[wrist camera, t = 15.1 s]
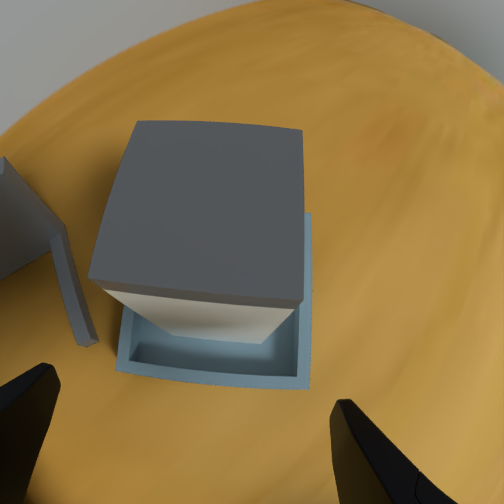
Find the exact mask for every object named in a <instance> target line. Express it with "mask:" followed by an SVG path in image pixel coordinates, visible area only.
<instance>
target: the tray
mask: <svg viewBox="0 0 504 504" xmlns="http://www.w3.org/2000/svg"><path fill="white" fill-rule="evenodd" d="M304 226H305V244H304V300H303V301H302V302H301V304H300V305H299V306H298V307H297V308H296V309H295V310H294V311H293V312H292V313H291V314H290V315H289V316H288V317H287V318H286V319H285V320H284V321H283V322H282V323H281V324H280V325H279V326H278V327H277V328H276V329H275V330H274V331H273V332H272V333H271V334H270V335H269V336H268V337H267V338H266V339H265V340H264V341H263V342H262V343H261V344H254V343H241V342H230V341H219V340H209V339H200V338H191V337H183V336H175V335H171V334H169V333H168V332H166V331H164V330H163V329H161V328H159V327H158V326H156V325H155V324H153V323H152V322H150V321H149V320H147V319H145V318H144V317H142V316H141V315H139V314H138V313H136V312H135V311H133V310H132V309H130V308H129V307H127V306H126V305H124V308H123V315H122V321H121V329H120V336H119V344H118V353H117V363H116V371H120V372H125V373H131V374H136V375H142V376H148V377H154V378H160V379H167V380H174V381H182V382H190V383H198V384H208V385H218V386H230V387H244V388H262V389H304V390H309V384H310V362H311V331H312V227H311V213H304Z"/></svg>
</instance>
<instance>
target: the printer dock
mask: <svg viewBox="0 0 504 504" xmlns="http://www.w3.org/2000/svg"><path fill="white" fill-rule="evenodd" d="M50 250H51V252H52V257H53V261H54V266H55V270H56V274H57V278H58V282H59V286H60V290H61V293H62V297H63V301H64V304H65V308H66V311H67V314H68V318H69V321H70V324H71V327H72V330H73V333H74V336H75V339H76V342H77V345H80V346H84V347H88V346H90V345H92V344H95V343H97V342H99V339H98V336H97V334H96V331H95V328H94V325H93V322H92V320H91V317H90V314H89V311H88V308H87V305H86V302H85V299H84V296H83V292H82V289H81V286H80V282H79V279H78V276H77V272H76V268H75V265H74V261H73V257H72V253H71V249H70V245H69V241H68V237H67V232H66V228H65V225H64V224H63V223H62V222H61V221H60V220H59V219H58V218H57V217H56V215H55V214H54V213H53V212H52V211H51V210H50V209H49V208H48V207H47V206H46V205H45V203H44V202H43V201H42V200H41V199H40V198H39V197H38V196H37V195H36V193H35V192H34V191H33V190H32V189H31V188H30V187H29V185H28V184H27V183H26V182H25V181H24V180H23V178H22V177H21V176H20V175H19V174H18V172H17V171H16V170H15V169H14V168H13V166H12V165H11V164H10V163H9V161H8V160H7V159H6V158H5V156H3V157H2V158H1V159H0V281H1V280H2V279H4V278H5V277H7V276H9V275H10V274H12V273H13V272H15V271H17V270H18V269H20V268H22V267H23V266H25V265H26V264H28V263H30V262H32V261H33V260H35V259H37V258H38V257H40V256H42V255H43V254H45V253H47V252H49V251H50Z"/></svg>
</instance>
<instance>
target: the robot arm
mask: <svg viewBox="0 0 504 504" xmlns="http://www.w3.org/2000/svg"><path fill="white" fill-rule="evenodd" d="M60 387H61V384H60V380H59V378H58V375H57V373H56V370H55V368H54V366H53V365H51V364H48V363H40V364H38V365H37V366H35V367H33V368H32V369H30V370H28V371H26V372H25V373H23V374H21V375H20V376H18V377H16V378H15V379H13V380H11V381H9V382H8V383H6V384H4V385H3V386H1V387H0V504H23V503H24V499H25V496H26V492H27V489H28V485H29V482H30V479H31V476H32V473H33V470H34V467H35V464H36V461H37V458H38V455H39V452H40V449H41V447H42V444H43V441H44V439H45V436H46V433H47V431H48V428H49V425H50V422H51V419H52V415H53V412H54V408H55V405H56V401H57V398H58V394H59V391H60ZM330 435H331V451H332V463H333V470H334V475H335V480H336V486H337V491H338V497H339V502H340V504H458V503H456V502H455V501H454V500H452V499H451V498H450V497H448V496H447V495H446V494H445V493H444V492H442V491H441V490H440V489H439V488H437V487H436V486H435V485H434V484H433V483H432V482H431V481H430V480H429V479H428V478H427V477H426V476H425V475H424V474H423V473H422V472H421V471H420V472H419V469H418V468H417V467H416V466H415V465H414V464H413V463H412V462H411V461H410V460H409V459H408V458H407V457H406V456H405V455H404V454H403V453H402V452H401V451H400V450H399V449H398V448H397V447H396V446H395V445H394V444H393V443H392V442H391V441H390V440H389V439H388V438H387V437H386V436H385V434H384V433H383V432H382V431H381V430H380V429H379V428H378V427H377V426H376V425H375V424H374V423H373V422H372V421H371V420H370V419H369V418H368V417H367V416H366V415H365V414H364V412H363V411H362V410H361V409H360V408H359V407H358V406H357V405H356V404H355V403H354V402H353V401H352V400H351V399H339V400H337V401H336V403H335V406H334V408H333V410H332V413H331V415H330Z"/></svg>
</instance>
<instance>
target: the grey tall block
mask: <svg viewBox="0 0 504 504" xmlns="http://www.w3.org/2000/svg"><path fill="white" fill-rule="evenodd" d="M304 244H305V226H304V165H303V136H302V130H297V129H289V128H281V127H272V126H262V125H252V124H239V123H225V122H206V121H137V123H136V125H135V128H134V130H133V132H132V135H131V137H130V140H129V142H128V145H127V147H126V150H125V153H124V155H123V158H122V161H121V163H120V166H119V169H118V172H117V174H116V177H115V180H114V183H113V186H112V189H111V192H110V195H109V198H108V201H107V205H106V208H105V211H104V215H103V218H102V221H101V225H100V228H99V232H98V236H97V239H96V243H95V247H94V251H93V255H92V259H91V263H90V267H89V272H88V276H87V278H88V279H89V280H91V281H92V282H93V283H95V284H96V285H97V286H99V287H100V288H102V289H103V290H104V291H106V292H107V293H109V294H110V295H111V296H113V297H114V298H116V299H117V300H119V301H120V302H121V303H123V304H124V305H126V306H127V307H129V308H130V309H132V310H133V311H135V312H136V313H138V314H139V315H141V316H142V317H144V318H145V319H147V320H149V321H150V322H152V323H153V324H155V325H156V326H158V327H159V328H161V329H163V330H164V331H166V332H168V333H169V334H171V335H175V336H183V337H191V338H200V339H209V340H219V341H230V342H241V343H254V344H261V343H262V342H263V341H264V340H265V339H266V338H267V337H268V336H269V335H270V334H271V333H272V332H273V331H274V330H275V329H276V328H277V327H278V326H279V325H280V324H281V323H282V322H283V321H284V320H285V319H286V318H287V317H288V316H289V315H290V314H291V313H292V312H293V311H294V310H295V309H296V308H297V307H298V306H299V305H300V304H301V302H302V301H303V300H304Z"/></svg>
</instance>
